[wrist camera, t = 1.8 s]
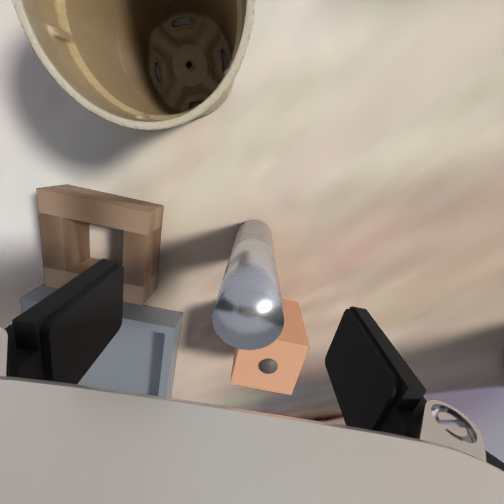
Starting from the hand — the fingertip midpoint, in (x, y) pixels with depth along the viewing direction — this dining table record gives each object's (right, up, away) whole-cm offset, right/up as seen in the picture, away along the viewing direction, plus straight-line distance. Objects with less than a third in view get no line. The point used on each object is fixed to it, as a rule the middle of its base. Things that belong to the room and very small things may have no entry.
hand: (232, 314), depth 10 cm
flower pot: (-4, +15, +7) cm, 17 cm away
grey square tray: (-14, -8, +16) cm, 23 cm away
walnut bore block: (-11, +4, +12) cm, 17 cm away
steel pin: (+1, +4, +11) cm, 12 cm away
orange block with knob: (+2, -4, +14) cm, 15 cm away
